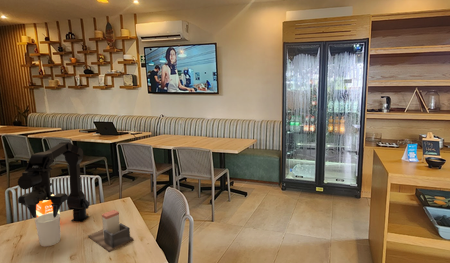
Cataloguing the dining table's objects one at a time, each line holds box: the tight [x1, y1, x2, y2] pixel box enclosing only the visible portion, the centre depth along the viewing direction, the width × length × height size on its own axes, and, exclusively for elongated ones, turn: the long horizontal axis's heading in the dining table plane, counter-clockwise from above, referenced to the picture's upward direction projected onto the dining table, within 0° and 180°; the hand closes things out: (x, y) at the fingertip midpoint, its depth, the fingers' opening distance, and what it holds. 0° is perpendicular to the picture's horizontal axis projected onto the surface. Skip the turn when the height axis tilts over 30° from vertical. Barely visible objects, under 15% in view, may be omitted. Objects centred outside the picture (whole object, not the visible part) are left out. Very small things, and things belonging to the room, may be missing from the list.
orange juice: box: [36, 193, 62, 226], centre depth 144 cm, size 8×9×20 cm
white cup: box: [34, 213, 62, 247], centre depth 130 cm, size 10×10×12 cm
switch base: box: [88, 222, 134, 253], centre depth 132 cm, size 19×12×7 cm, turn 51°
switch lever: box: [101, 209, 120, 234], centre depth 131 cm, size 4×6×12 cm
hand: (44, 217), depth 123 cm, fingers open, 9 cm apart
